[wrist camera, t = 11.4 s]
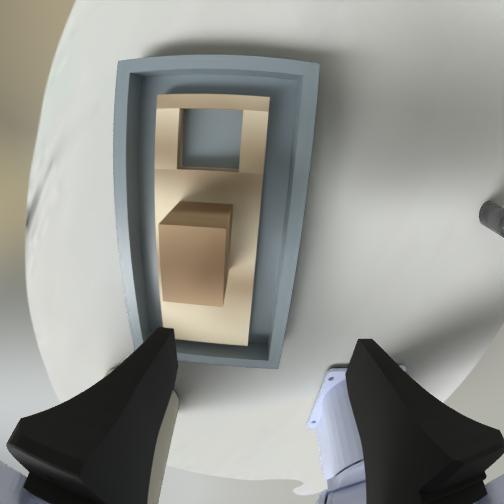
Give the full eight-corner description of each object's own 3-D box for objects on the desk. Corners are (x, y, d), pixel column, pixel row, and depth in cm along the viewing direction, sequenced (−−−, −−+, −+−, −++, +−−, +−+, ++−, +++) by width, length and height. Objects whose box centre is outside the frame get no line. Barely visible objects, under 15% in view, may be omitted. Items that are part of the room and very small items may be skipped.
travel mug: (97, 357, 24) (22, 518, 8) (175, 372, 24) (130, 565, 8) (115, 406, 27) (68, 542, 11) (183, 419, 28) (156, 571, 11)
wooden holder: (163, 96, 15) (127, 87, 10) (268, 99, 15) (274, 87, 10) (168, 327, 21) (149, 377, 17) (248, 335, 22) (245, 388, 17)
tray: (276, 346, 23) (278, 368, 20) (145, 333, 23) (135, 353, 20) (311, 71, 15) (320, 63, 12) (135, 67, 15) (118, 61, 12)
